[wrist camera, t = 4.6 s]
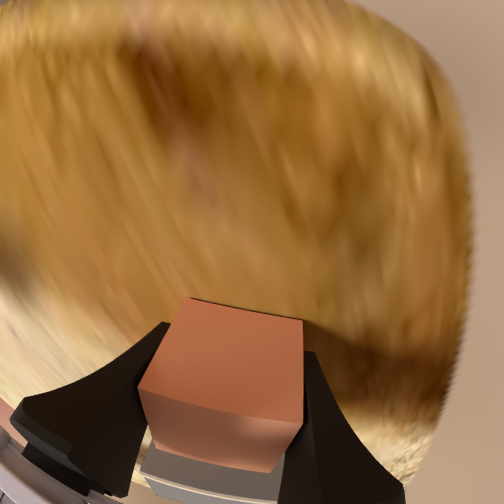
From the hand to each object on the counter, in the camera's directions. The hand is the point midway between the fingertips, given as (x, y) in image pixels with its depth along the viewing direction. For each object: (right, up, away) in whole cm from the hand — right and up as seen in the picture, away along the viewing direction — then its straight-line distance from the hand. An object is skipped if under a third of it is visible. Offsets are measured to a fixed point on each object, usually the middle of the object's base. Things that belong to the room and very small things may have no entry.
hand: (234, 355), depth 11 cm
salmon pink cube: (0, 0, +2) cm, 2 cm away
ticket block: (-2, -12, +7) cm, 14 cm away
